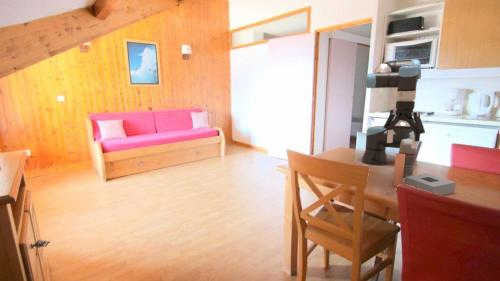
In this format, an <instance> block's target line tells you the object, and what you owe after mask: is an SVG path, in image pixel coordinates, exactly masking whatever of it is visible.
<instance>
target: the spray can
mask: <svg viewBox="0 0 500 281" xmlns="http://www.w3.org/2000/svg"><path fill="white" fill-rule="evenodd" d="M411 146H412V140H411V139H404V140H401V144H400V148H398V149H399V150H398V153H401V154H405V163H404V173H403V178H405V177H407V176H412V175H413V174H414V168H415V163H416V157H417V148H414V149H412V148H411Z"/></svg>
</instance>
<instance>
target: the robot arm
mask: <svg viewBox="0 0 500 281" xmlns="http://www.w3.org/2000/svg"><path fill="white" fill-rule="evenodd" d="M421 65H422V64H421V61H420V60H419V59H415V58H411V59H397V60H389V61H385V62H383V63H380V64H378V65H377V66H376V67H375V68H374V70H373V72H372V73H367V74H366V76H365V87H366V89H384V88H385V89H389V88H390V89H391V88H393V89H395V88H397V90H396V101H395V109H390V112H389V115H388V118H387V119H386V121H385V123H384V125H375V126H370V127H368V128H367V129H366V134H365V138H366V140H365V150H364V152H363V155H362V157H361V162H362V161H363V162H362V163H364V162H365V163H364V164H367V165H373V166H385V165H387V164H388V161H389V159H388V157H387V152H386V148H393V149H400V144H401V140H404V139H411V140H412V146H411V148H412V149H414V148H416V149H417V148H418V145H419V144H418V143H419V142H420V138H421V134H425V133H426V131H425V127H424V125H423V121H422V119H421V112H420V111H414V109H415V104H416V101H415V100H416V94H417V83H418V80H421V78H422V66H421Z"/></svg>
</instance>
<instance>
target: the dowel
mask: <svg viewBox="0 0 500 281" xmlns="http://www.w3.org/2000/svg"><path fill="white" fill-rule="evenodd" d="M394 156H395V157H394V158H395V160H394V169H393V180H392V181H393V182H392V186H393V187H395V188H397V187H396V186H397V185H399V184H402V185H403V184H404V183H403V181H404V177H403V173H404V163H405V154H401V153H399V152H397V153H395V155H394Z"/></svg>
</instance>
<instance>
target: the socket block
mask: <svg viewBox="0 0 500 281" xmlns="http://www.w3.org/2000/svg"><path fill="white" fill-rule="evenodd" d="M404 183H405V184H408V185H411V186H414V187H416V188H419V189H422V190H426V191H429V192H432V193H436V194H440V195H442V196H447V195H450V194H454V193H455V192H456V191H455V190H456V186H457V185H456V183H457V182H455V181H453V180H449V179H447V178H444V177H440V176H437V175H433V174H431V173H427V172H424V173H421V174H419V173H418V174H414V175H412V176H407V177H404Z"/></svg>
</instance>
